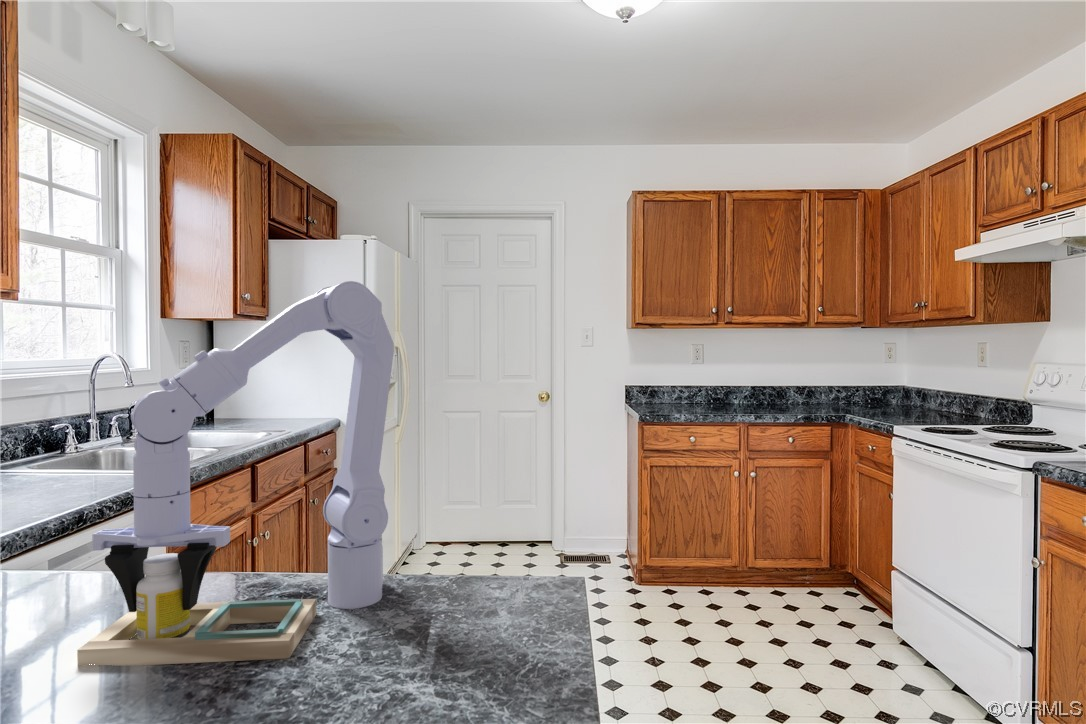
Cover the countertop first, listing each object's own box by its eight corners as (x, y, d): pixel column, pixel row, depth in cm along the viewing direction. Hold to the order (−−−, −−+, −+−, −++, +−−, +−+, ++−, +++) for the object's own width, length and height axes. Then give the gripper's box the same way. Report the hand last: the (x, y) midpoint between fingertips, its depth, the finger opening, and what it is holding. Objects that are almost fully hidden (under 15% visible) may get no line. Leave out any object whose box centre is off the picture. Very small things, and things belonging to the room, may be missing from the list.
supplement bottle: (198, 630, 78) (198, 550, 77) (174, 651, 72) (174, 565, 72) (153, 631, 77) (153, 551, 77) (126, 651, 72) (125, 566, 72)
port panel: (137, 621, 80) (137, 601, 80) (316, 614, 82) (316, 594, 82) (77, 668, 68) (77, 645, 68) (289, 658, 70) (289, 636, 70)
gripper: (75, 502, 70) (76, 624, 70) (213, 499, 71) (213, 619, 71) (111, 488, 77) (112, 599, 77) (236, 486, 78) (237, 595, 78)
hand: (163, 607), depth 75 cm, fingers closed on supplement bottle, 5 cm apart
